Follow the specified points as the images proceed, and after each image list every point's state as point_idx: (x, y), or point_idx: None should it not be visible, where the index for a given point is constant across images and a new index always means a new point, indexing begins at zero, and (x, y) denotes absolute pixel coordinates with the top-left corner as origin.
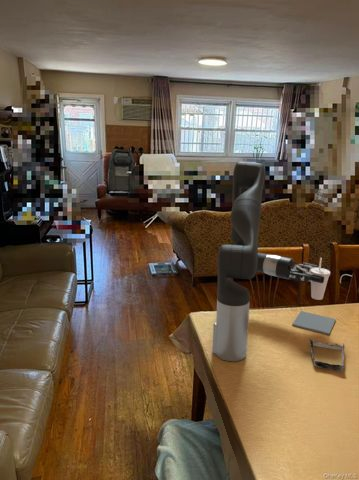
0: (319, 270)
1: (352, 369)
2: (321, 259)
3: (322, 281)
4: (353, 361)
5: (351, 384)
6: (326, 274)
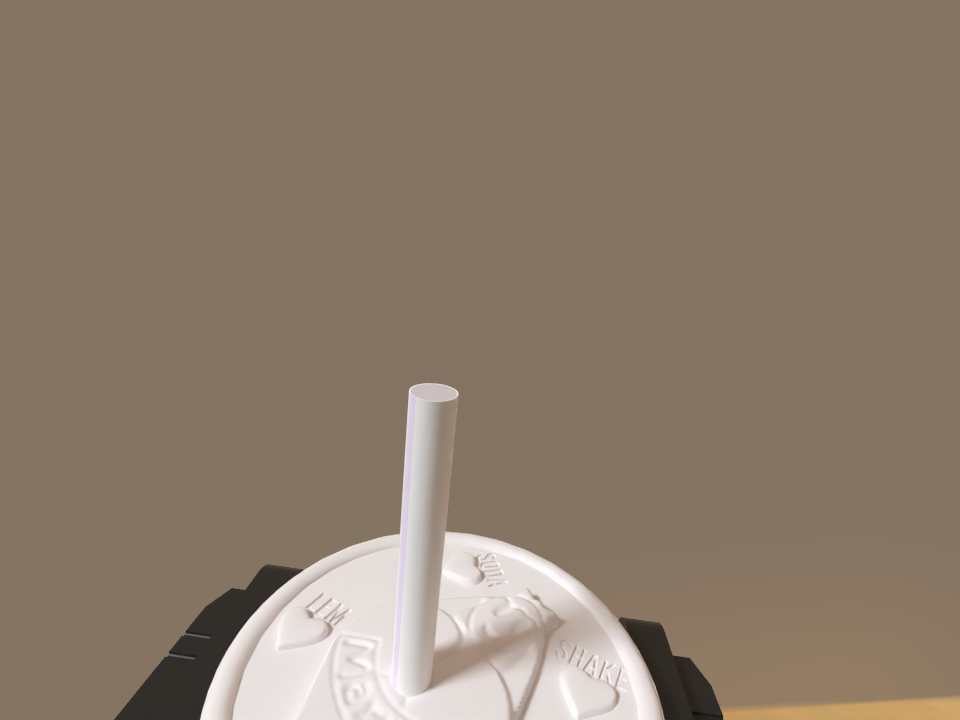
0: (464, 671)
1: (826, 713)
2: (446, 420)
3: None
4: (754, 713)
5: (939, 711)
6: (559, 569)
